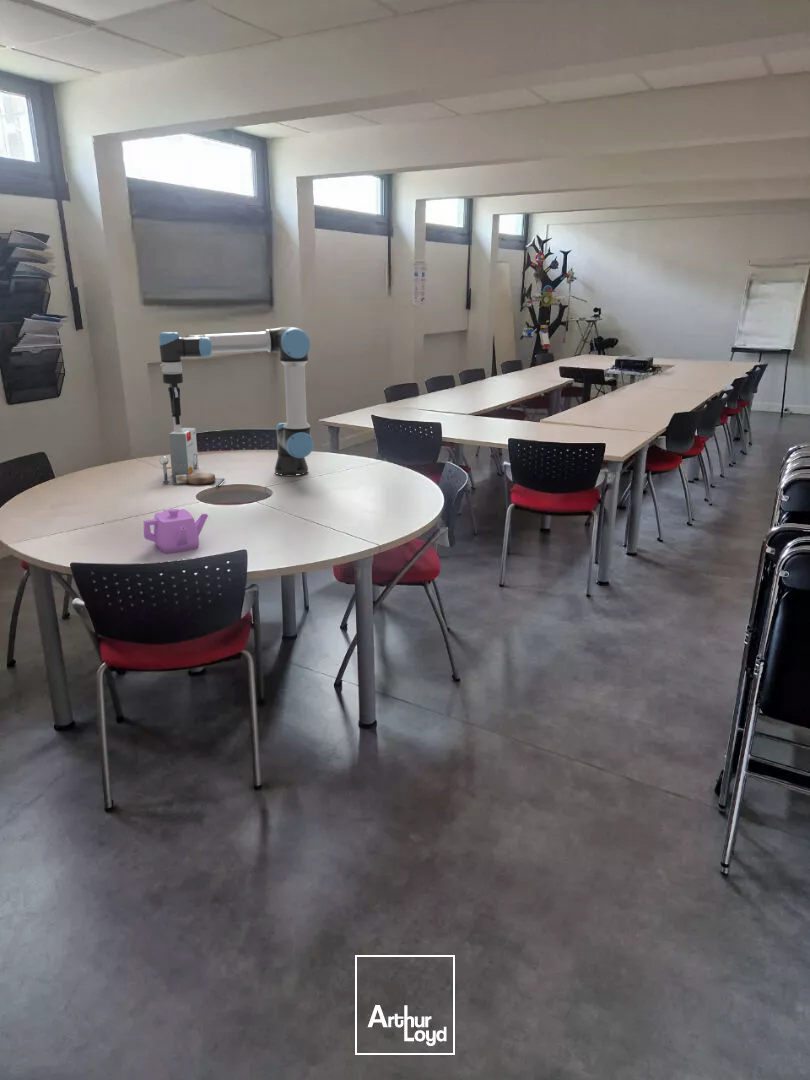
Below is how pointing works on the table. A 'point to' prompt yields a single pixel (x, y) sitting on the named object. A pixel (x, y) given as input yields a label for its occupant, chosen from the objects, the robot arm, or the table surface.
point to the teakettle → (174, 530)
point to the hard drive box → (183, 451)
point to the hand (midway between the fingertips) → (178, 431)
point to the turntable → (196, 478)
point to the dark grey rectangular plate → (173, 482)
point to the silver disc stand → (165, 468)
